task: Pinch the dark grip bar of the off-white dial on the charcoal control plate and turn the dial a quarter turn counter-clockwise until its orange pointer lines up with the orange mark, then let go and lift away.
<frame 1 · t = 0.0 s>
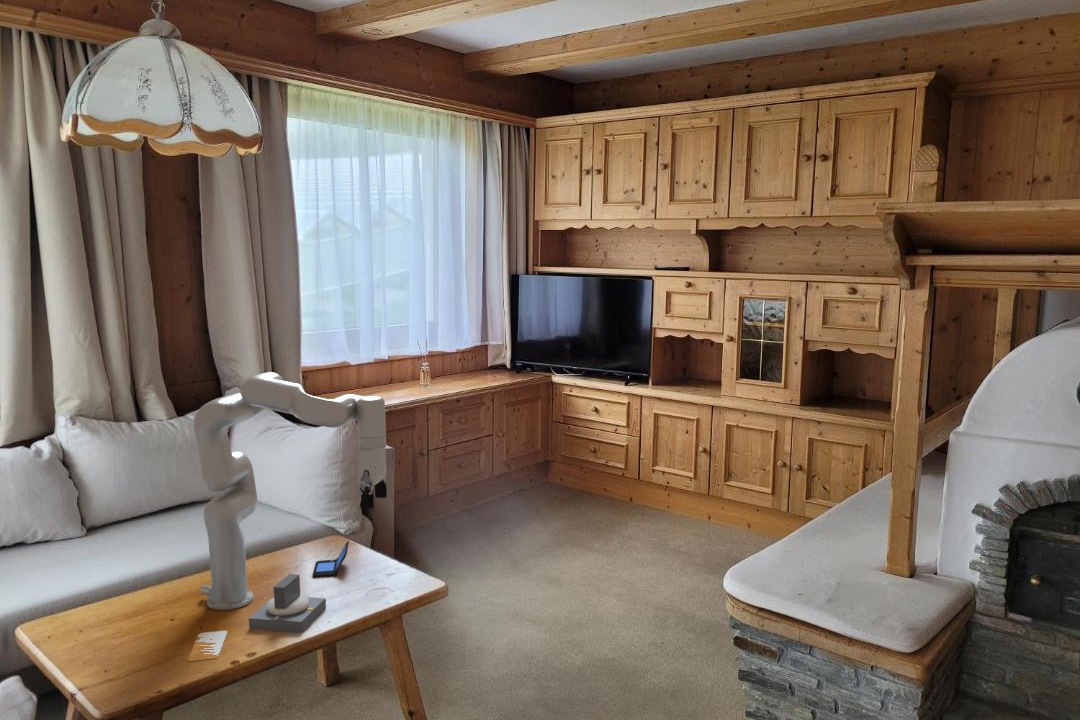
hand: (374, 502, 221), 31 cm above the table, tool pointing down, fingers open, 9 cm apart
dial: (287, 593, 220), point 7 cm above the table, hinge at 0.0°
control plate: (288, 618, 221), on the table
handheld game console: (331, 570, 256), on the table
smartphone: (208, 648, 206), on the table
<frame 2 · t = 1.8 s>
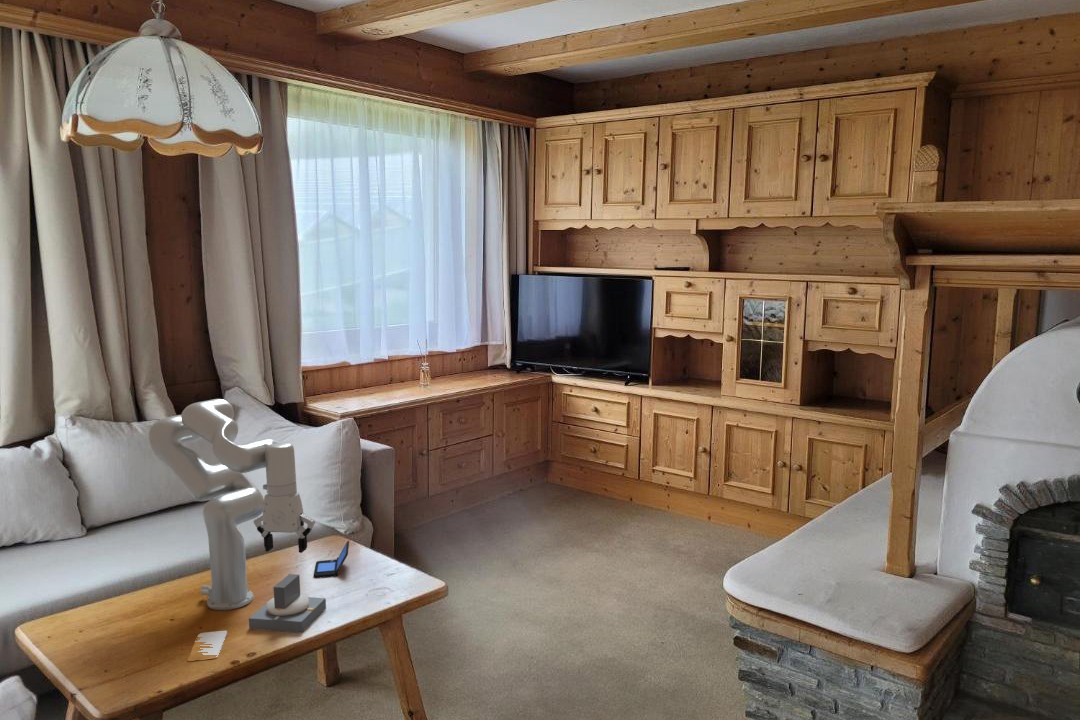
hand: (286, 550, 219), 19 cm above the table, tool pointing down, fingers open, 9 cm apart
nothing on the table moved.
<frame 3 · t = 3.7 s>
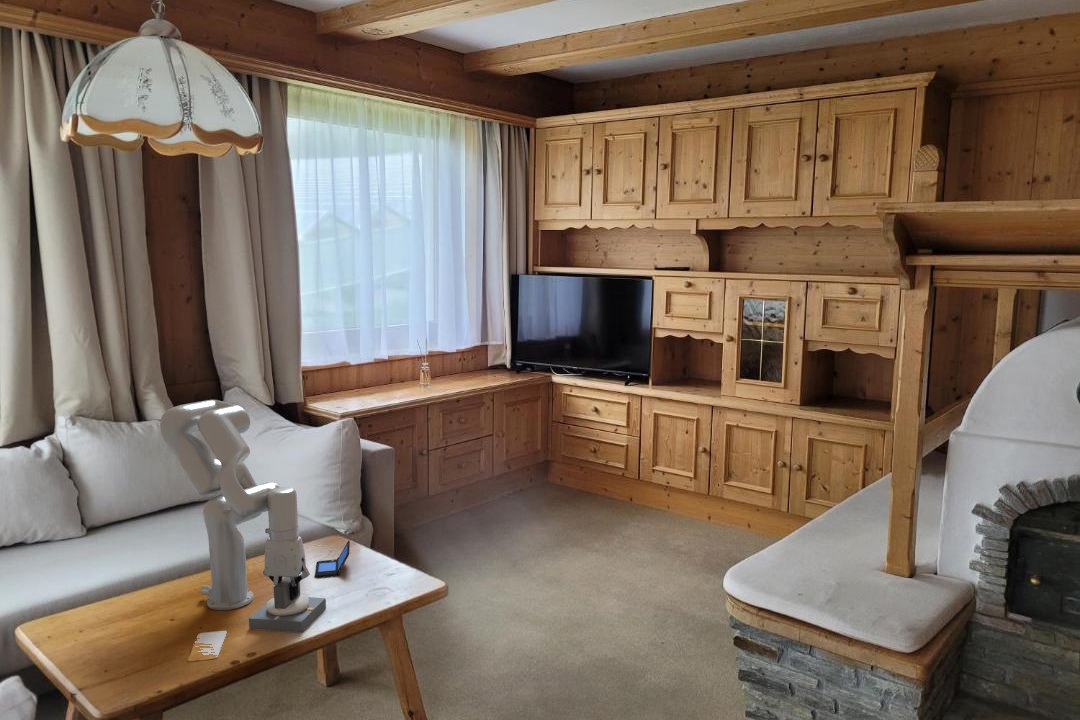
hand: (287, 597, 221), 6 cm above the table, tool pointing down, fingers closed on dial, 3 cm apart
dial: (287, 593, 220), point 7 cm above the table, hinge at 0.0°, touching gripper
everything else where it was.
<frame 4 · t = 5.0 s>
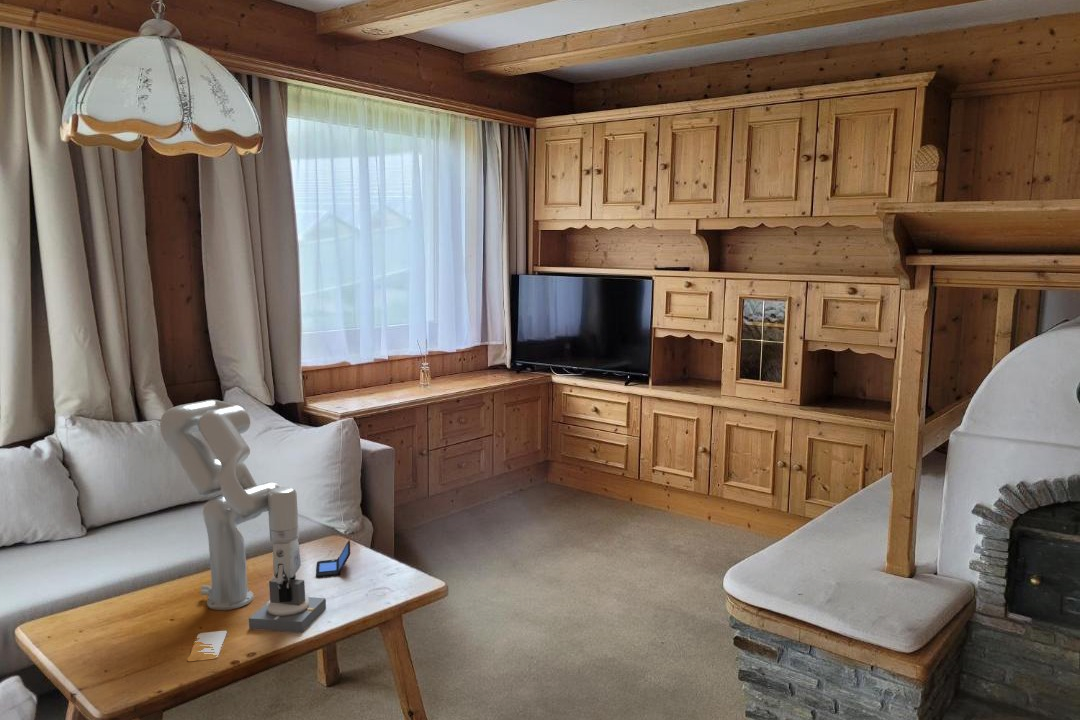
hand: (288, 597, 220), 6 cm above the table, tool pointing down, fingers closed on dial, 4 cm apart
dial: (287, 593, 220), point 7 cm above the table, hinge at 83.8°, touching gripper
everything else where it was.
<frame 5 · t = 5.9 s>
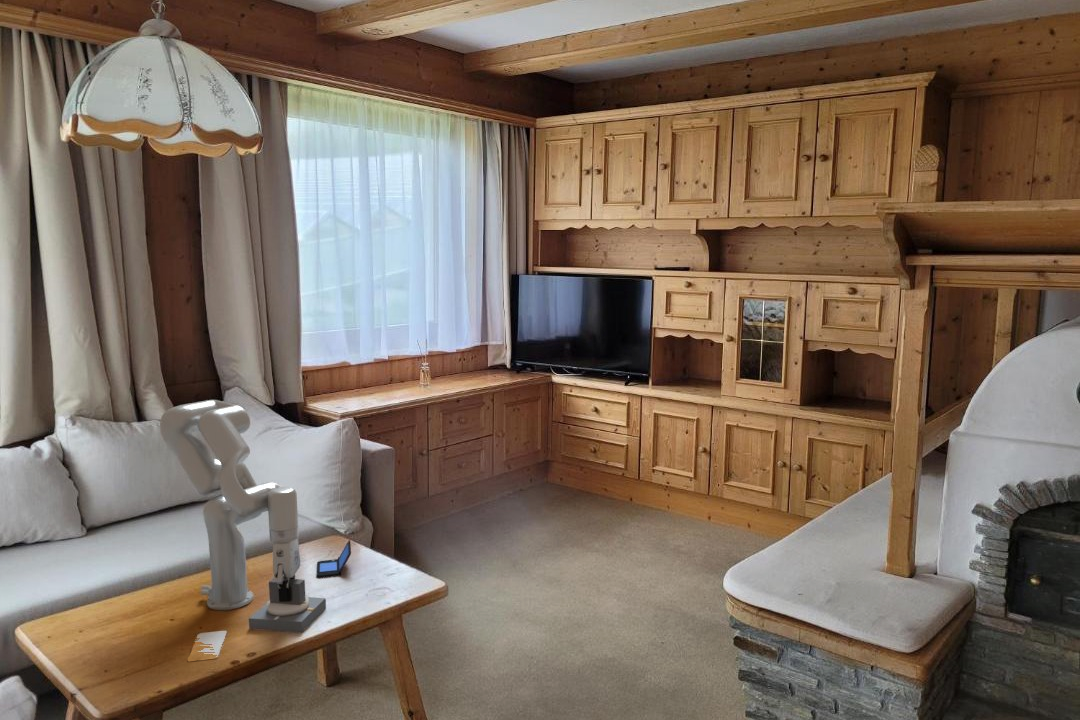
hand: (287, 597, 221), 6 cm above the table, tool pointing down, fingers closed on dial, 3 cm apart
dial: (287, 593, 220), point 7 cm above the table, hinge at 88.1°, touching gripper
everything else where it was.
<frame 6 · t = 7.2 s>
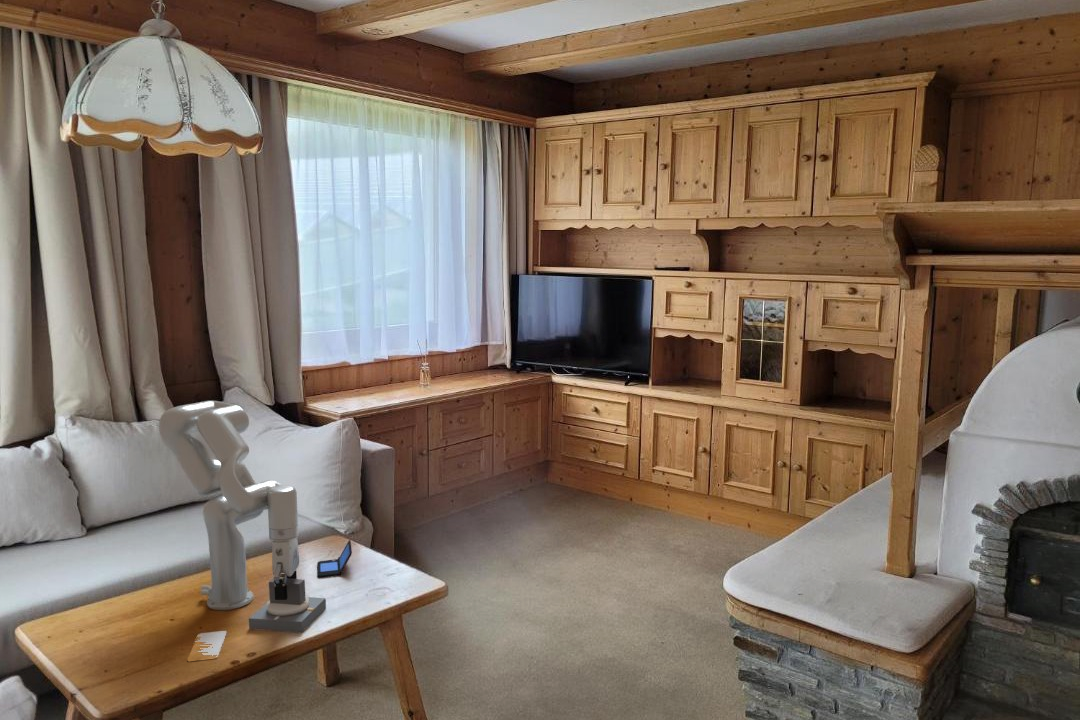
hand: (286, 591, 221), 8 cm above the table, tool pointing down, fingers open, 9 cm apart
dial: (287, 593, 220), point 7 cm above the table, hinge at 88.7°
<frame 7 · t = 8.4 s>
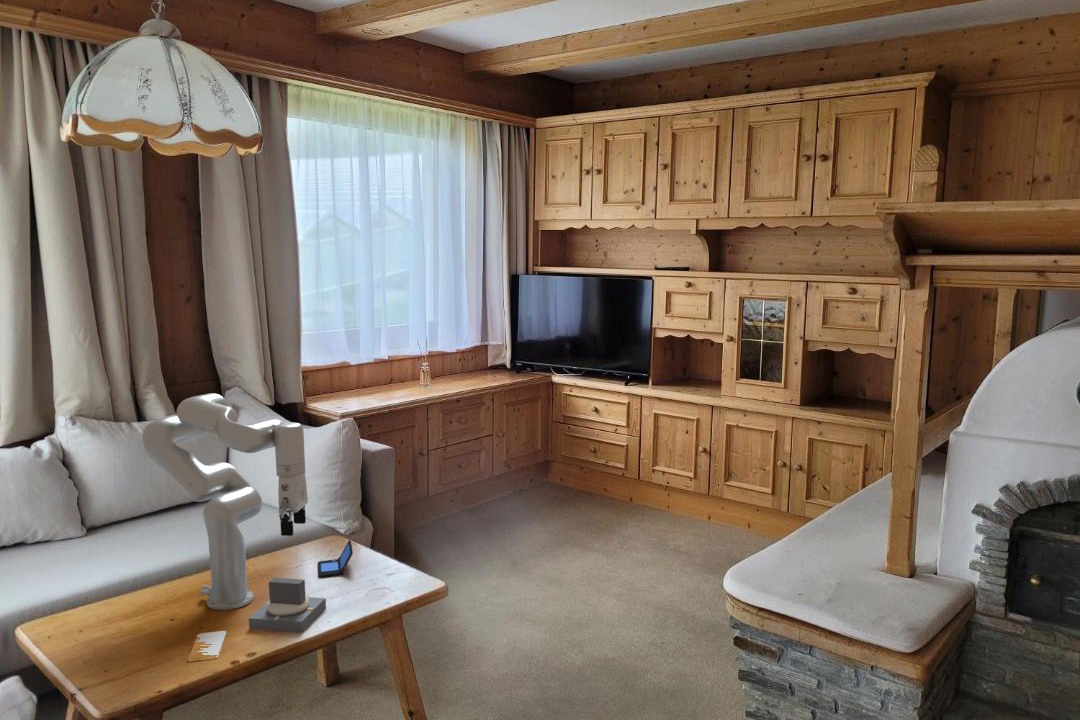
hand: (293, 529, 221), 24 cm above the table, tool pointing down, fingers open, 9 cm apart
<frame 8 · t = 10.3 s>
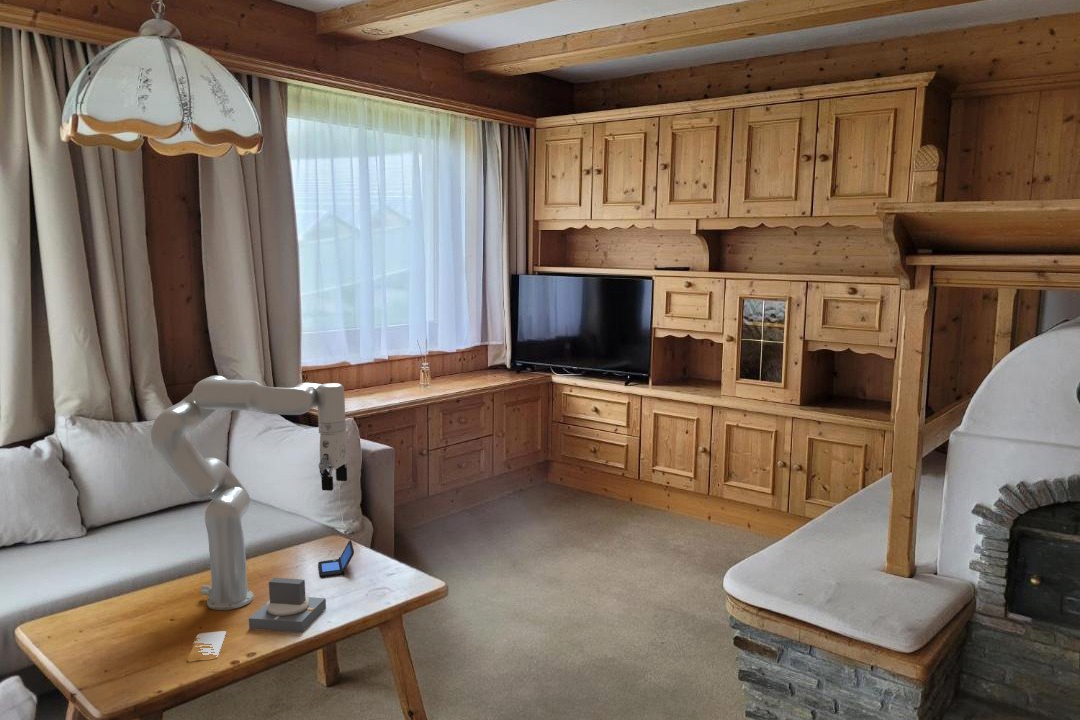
hand: (334, 485, 231), 33 cm above the table, tool pointing down, fingers open, 9 cm apart
at the end: dial at +89° (first picture: +0°); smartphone moved 0.7 cm from its start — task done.
